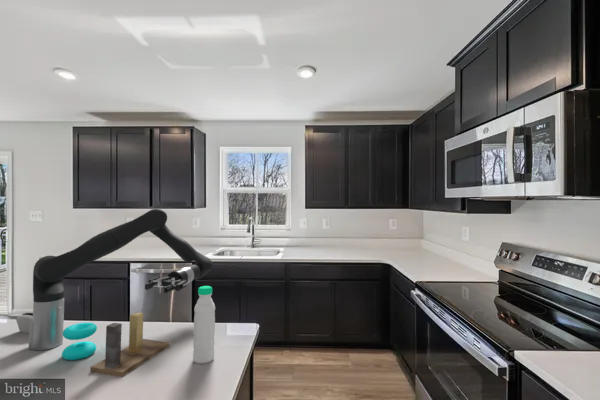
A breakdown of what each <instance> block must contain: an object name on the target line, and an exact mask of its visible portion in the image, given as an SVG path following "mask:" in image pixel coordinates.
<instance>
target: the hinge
mask: <svg viewBox="0 0 600 400" xmlns="http://www.w3.org/2000/svg"><path fill="white" fill-rule="evenodd" d="M15 320H16V324H17V326H18V327H17V328H18V331H19V332H20V331H21V332H20V333H25V332H27V333H26V334H29V326H30V322H32V321H33V310H32V311H31V310H30V311H27V312H26V311H25V312H24V313H22V314H20V315H18V316H17V317H16V318H15Z"/></svg>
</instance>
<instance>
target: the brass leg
mask: <svg viewBox="0 0 600 400" xmlns="http://www.w3.org/2000/svg"><path fill="white" fill-rule="evenodd" d="M128 334H129V335H128V339H129V340H128V346H129V353H133V354H137V353H139V352H140V351H142V344H143V339H144V335H143V334H144V313H143V312H137V311H136V312H134V313H132V314H129V333H128Z"/></svg>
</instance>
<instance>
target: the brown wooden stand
mask: <svg viewBox="0 0 600 400" xmlns="http://www.w3.org/2000/svg"><path fill="white" fill-rule="evenodd" d="M105 329H106V332H105V353H104V354H105V358H104V359H103V360H100V361H99V362H97V363H95V364H94V365H92V366H90V372H91V373H95V374H100V375H101V374H102V375H108V376H115V377H121V378H123V377H125V376H126V375H129V373H131V372H132V371H134V370H135V369H137V368H138V367H140V366H142V365H143V364H144V363H146V362H147V361H149V360H151V359H152V358H154V357H155V356H157V355H159V354H160V353H162V352H163V351H165V350H166V349H168V348H169V347H170V342H168V341H161V340H154V339H145V338H143V344H142V351H140V352H139V353H137V354H133V353H129V345H128V346H126V347H124V348H123V349H122V348H121V347H122V323H118V322H112V323H110V324H107V325H106V327H105Z"/></svg>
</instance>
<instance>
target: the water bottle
mask: <svg viewBox="0 0 600 400" xmlns="http://www.w3.org/2000/svg"><path fill="white" fill-rule="evenodd" d="M197 295H198V296H199V297H198V299H197V301H196V304H195V305H194V309H193V310H194V311H193V312H194V315H193V316H194V317H193V351H192V360H193V362H194V363H195V364H196V363H197V364H198V365H199V364H201V365H203V364H208V363H210V362H212V361H213V360H214V358H215V329H216V316H215V315H216V312H215V311H216V304H215V302H214V301H213V298H212V295H213V287H212V286H210V285H203V286H202V285H201V286H200V287H198V289H197Z"/></svg>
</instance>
